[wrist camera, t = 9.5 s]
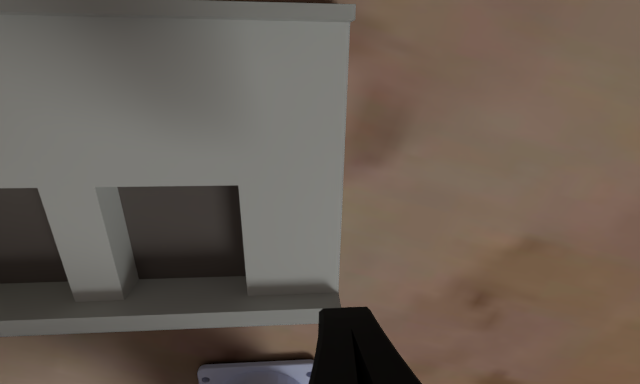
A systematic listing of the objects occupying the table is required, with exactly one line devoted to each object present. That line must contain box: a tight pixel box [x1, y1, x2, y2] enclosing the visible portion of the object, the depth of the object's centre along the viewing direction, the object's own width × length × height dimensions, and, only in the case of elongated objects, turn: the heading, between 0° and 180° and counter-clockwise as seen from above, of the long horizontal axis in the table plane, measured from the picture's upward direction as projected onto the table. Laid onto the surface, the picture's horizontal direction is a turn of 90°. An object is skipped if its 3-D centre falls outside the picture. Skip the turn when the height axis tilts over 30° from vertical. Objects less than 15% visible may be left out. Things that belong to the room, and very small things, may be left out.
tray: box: [0, 0, 356, 337], centre depth 16 cm, size 15×22×3 cm
